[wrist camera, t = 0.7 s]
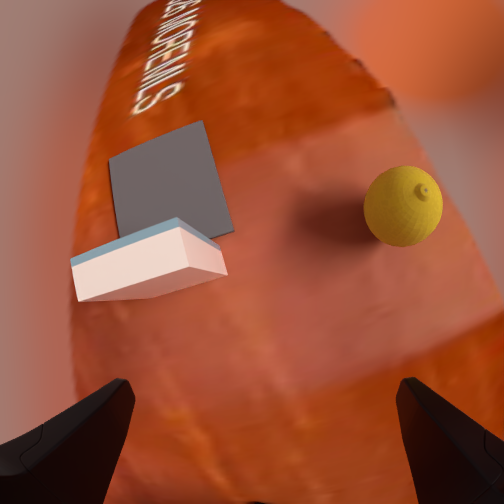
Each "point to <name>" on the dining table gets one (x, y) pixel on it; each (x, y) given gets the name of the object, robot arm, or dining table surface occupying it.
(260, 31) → the dining table surface
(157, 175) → the mat
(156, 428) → the dining table surface
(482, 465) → the robot arm
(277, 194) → the dining table surface
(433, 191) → the lemon
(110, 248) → the white rectangular block
